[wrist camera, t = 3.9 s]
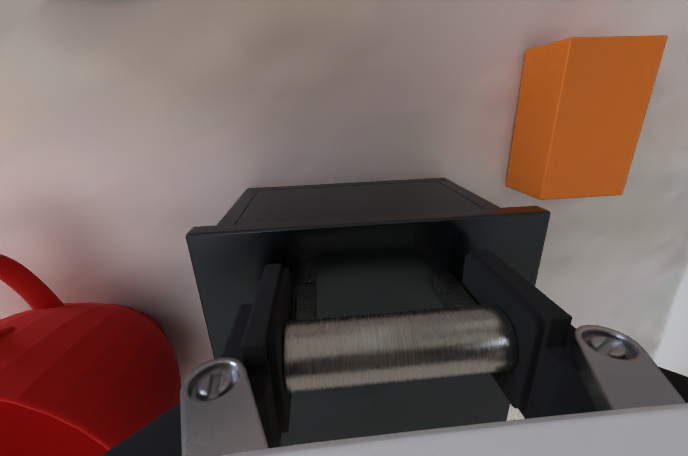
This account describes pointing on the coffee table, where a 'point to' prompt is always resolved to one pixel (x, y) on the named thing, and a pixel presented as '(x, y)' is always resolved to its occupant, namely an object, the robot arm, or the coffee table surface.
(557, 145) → the orange block
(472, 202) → the bin
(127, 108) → the coffee table surface
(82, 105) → the coffee table surface
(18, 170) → the coffee table surface
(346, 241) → the bin lid
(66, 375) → the ceramic cup
